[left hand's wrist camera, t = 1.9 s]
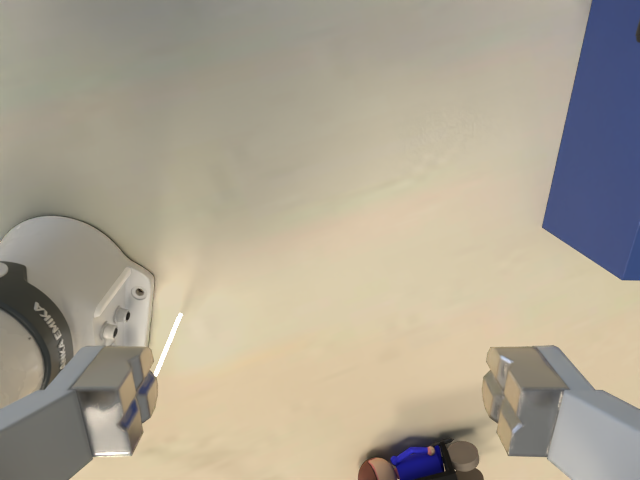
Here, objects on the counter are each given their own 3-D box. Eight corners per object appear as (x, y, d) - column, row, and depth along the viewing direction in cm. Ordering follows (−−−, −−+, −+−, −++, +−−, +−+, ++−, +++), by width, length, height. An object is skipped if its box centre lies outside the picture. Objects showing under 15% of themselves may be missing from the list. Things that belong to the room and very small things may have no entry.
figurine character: (458, 414, 57) (348, 450, 56) (487, 461, 49) (361, 503, 49) (466, 452, 59) (361, 487, 58) (494, 502, 52) (375, 542, 51)
